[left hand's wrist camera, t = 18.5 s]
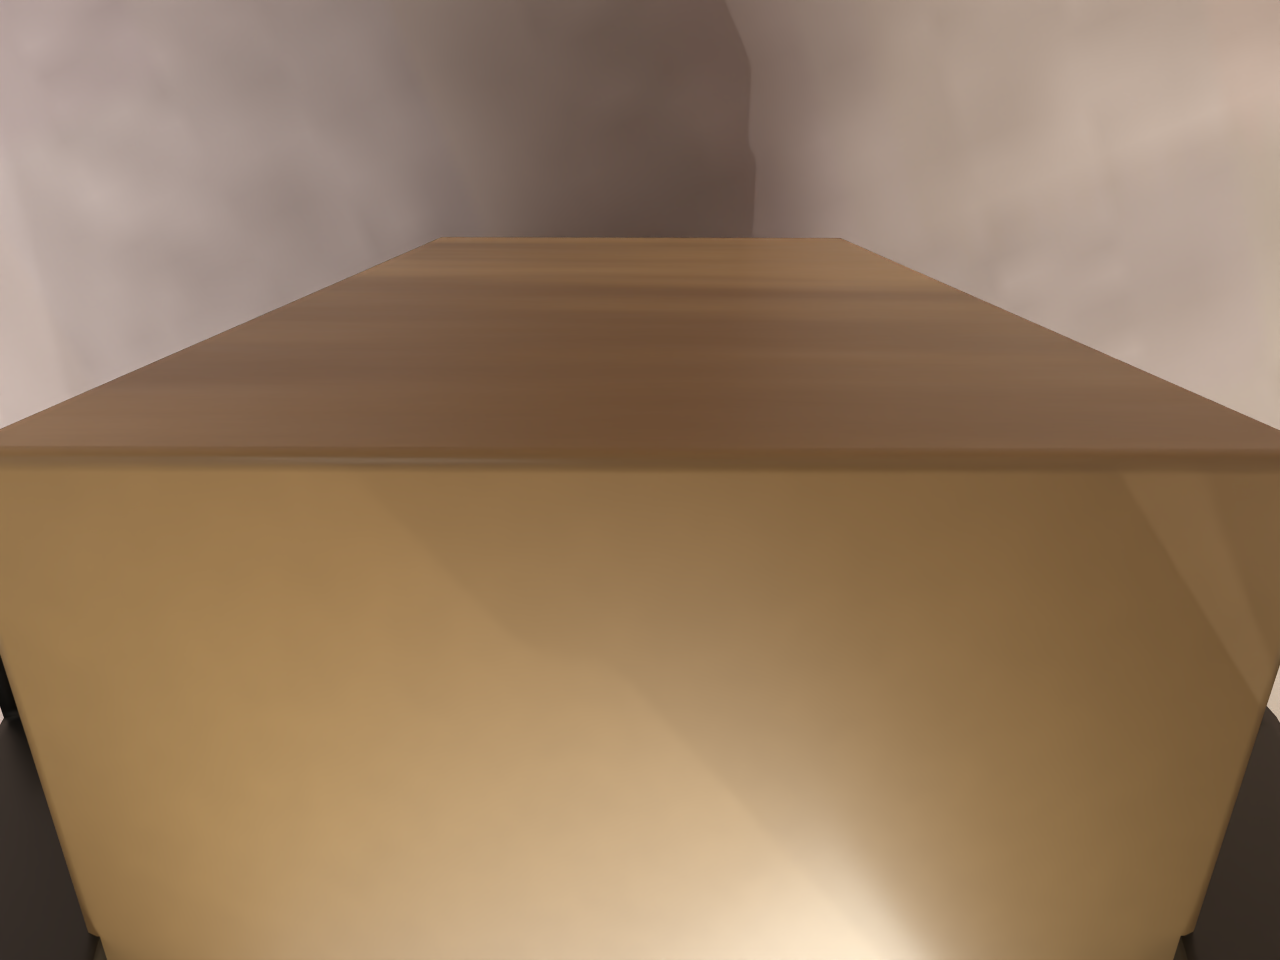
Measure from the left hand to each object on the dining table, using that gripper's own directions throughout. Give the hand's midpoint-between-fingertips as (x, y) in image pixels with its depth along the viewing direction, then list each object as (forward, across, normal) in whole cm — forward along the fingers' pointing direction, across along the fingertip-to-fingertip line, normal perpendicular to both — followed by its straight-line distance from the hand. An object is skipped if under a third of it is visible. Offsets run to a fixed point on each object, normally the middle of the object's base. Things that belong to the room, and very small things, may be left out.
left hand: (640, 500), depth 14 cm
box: (+1, 0, -8) cm, 8 cm away
